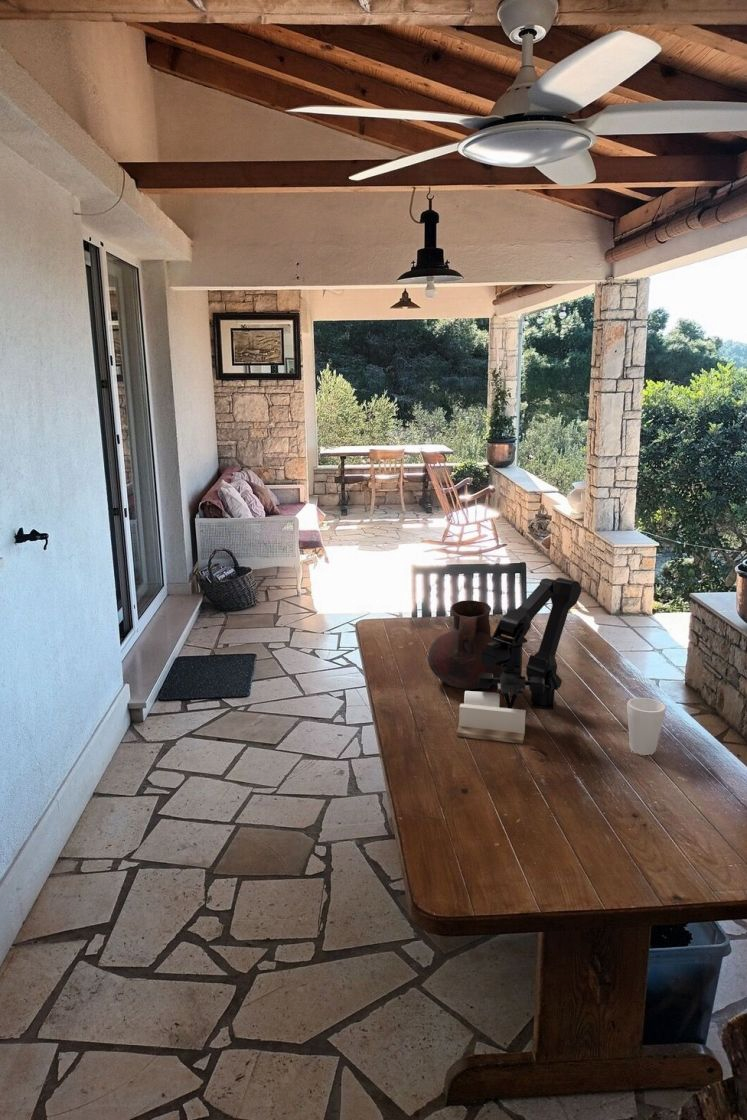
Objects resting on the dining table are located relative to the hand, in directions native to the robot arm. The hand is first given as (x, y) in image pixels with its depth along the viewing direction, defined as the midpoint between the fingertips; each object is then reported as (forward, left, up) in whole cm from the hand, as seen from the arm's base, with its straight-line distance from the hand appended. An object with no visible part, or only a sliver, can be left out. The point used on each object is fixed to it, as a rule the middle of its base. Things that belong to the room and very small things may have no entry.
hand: (510, 710), depth 225 cm
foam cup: (-36, +11, -3) cm, 38 cm away
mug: (+8, 0, -3) cm, 9 cm away
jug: (+16, -24, -3) cm, 29 cm away
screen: (+4, +12, -3) cm, 13 cm away
